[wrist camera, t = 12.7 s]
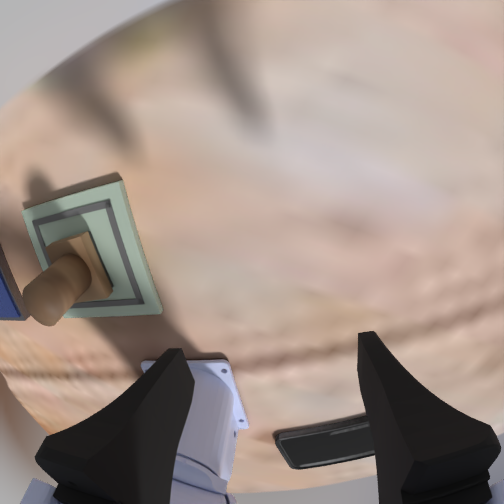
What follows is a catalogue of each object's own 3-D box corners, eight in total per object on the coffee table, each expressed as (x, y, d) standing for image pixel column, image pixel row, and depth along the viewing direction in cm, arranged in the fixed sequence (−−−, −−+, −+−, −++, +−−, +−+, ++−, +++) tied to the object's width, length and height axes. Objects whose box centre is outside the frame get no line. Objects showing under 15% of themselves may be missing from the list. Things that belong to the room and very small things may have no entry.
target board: (163, 309, 24) (160, 314, 23) (67, 314, 25) (63, 318, 25) (122, 179, 20) (117, 182, 19) (25, 208, 21) (20, 211, 21)
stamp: (116, 287, 23) (76, 336, 17) (80, 293, 23) (40, 338, 18) (91, 228, 21) (40, 266, 15) (56, 239, 21) (6, 276, 16)
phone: (418, 442, 28) (292, 470, 31) (416, 435, 29) (292, 463, 32) (420, 405, 25) (272, 439, 28) (418, 396, 26) (272, 430, 30)
